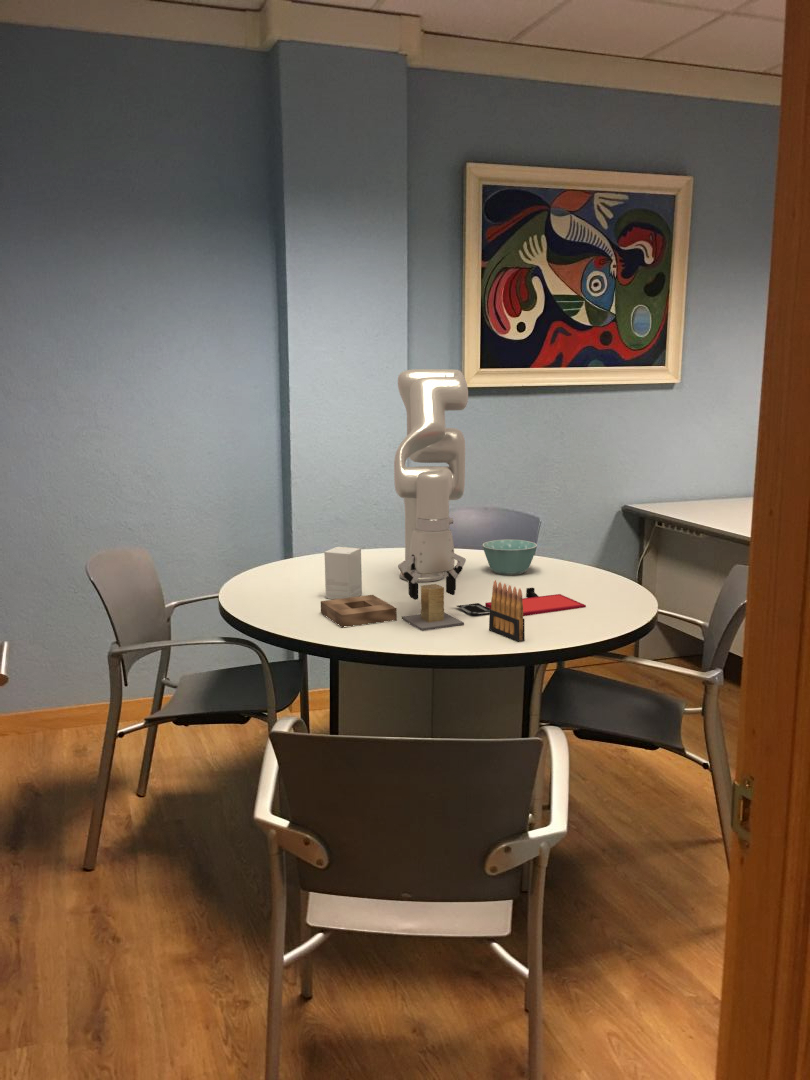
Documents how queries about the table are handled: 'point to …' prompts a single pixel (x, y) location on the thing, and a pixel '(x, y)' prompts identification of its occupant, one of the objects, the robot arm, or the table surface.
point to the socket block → (358, 610)
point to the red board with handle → (531, 604)
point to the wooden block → (432, 603)
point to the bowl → (509, 555)
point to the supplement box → (343, 573)
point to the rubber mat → (425, 625)
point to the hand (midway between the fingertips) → (432, 596)
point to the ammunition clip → (507, 613)
